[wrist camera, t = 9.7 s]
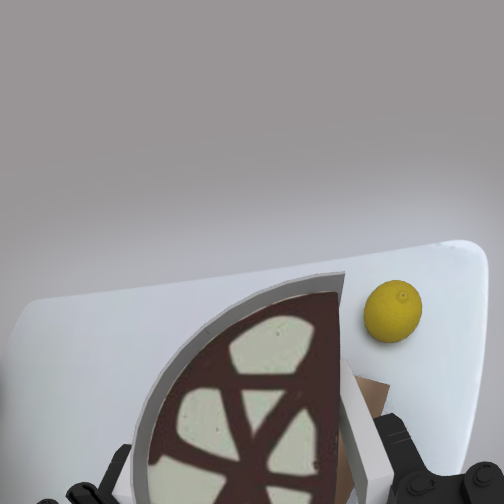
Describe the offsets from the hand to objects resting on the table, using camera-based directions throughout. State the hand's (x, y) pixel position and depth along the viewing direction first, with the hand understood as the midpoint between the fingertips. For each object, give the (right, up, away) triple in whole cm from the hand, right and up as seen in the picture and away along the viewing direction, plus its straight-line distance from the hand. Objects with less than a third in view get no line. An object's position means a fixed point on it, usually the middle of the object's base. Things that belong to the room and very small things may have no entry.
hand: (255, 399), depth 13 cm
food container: (+1, -4, +2) cm, 5 cm away
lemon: (+14, -1, +18) cm, 23 cm away
